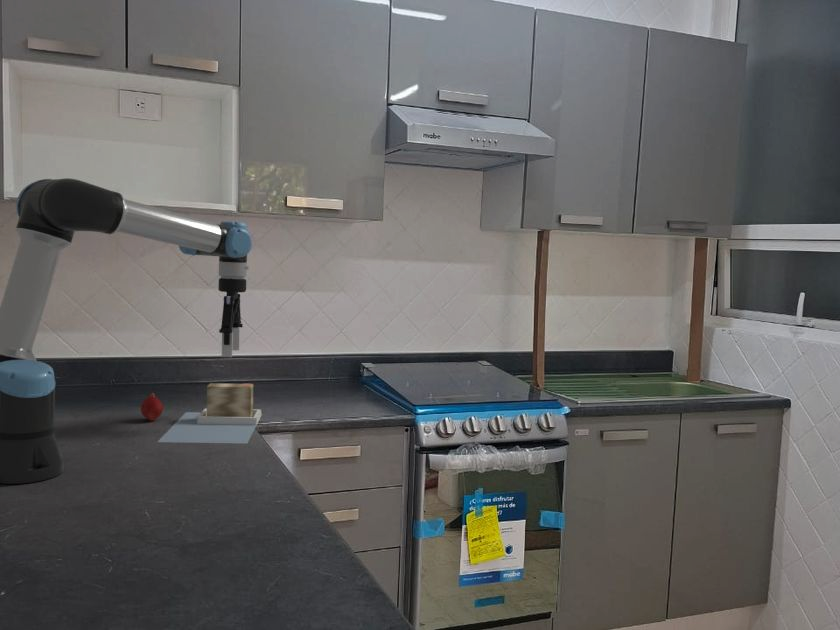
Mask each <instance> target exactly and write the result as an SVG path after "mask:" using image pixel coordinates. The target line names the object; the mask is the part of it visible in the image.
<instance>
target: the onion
mask: <svg viewBox="0 0 840 630" xmlns="http://www.w3.org/2000/svg"><path fill="white" fill-rule="evenodd" d="M163 410H164V405H163V403H162V400H161V399H160V398H158V397H157V396H155V393H154V392H153V393H152V392H151V394H150V395H148V397H146V398H145V399H144V400H143V402H142V403H141V406H140V411H141V415H142V416H143V417H144V418H145V419H147V420H148V421H149V422H155V421H156V420H157V419H158V418H159V417H160V416H161V414H162V413H163Z"/></svg>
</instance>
